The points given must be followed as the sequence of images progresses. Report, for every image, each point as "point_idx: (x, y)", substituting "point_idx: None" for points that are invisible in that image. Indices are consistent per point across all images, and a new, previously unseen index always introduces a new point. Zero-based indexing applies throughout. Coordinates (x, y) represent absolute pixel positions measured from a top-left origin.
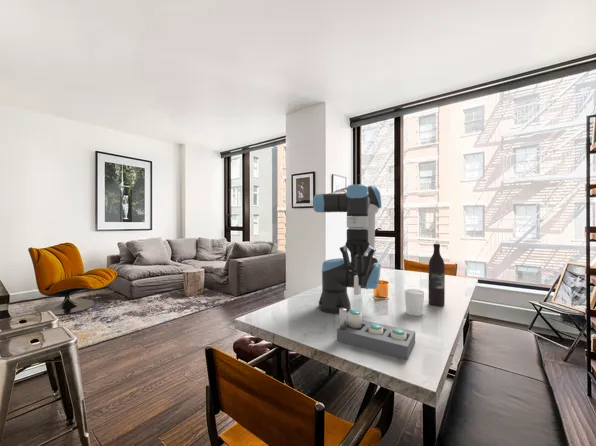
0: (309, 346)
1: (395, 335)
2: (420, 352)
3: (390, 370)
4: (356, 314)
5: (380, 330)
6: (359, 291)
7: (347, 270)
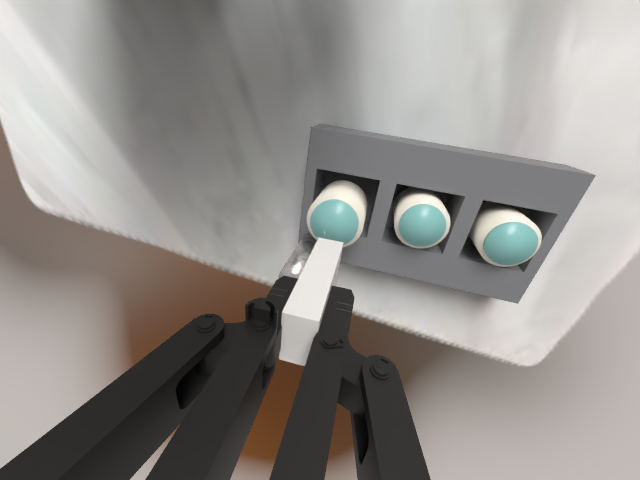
0: (259, 281)
1: (491, 262)
2: None
3: (450, 328)
4: (344, 243)
5: (438, 241)
6: (337, 270)
7: (199, 381)
